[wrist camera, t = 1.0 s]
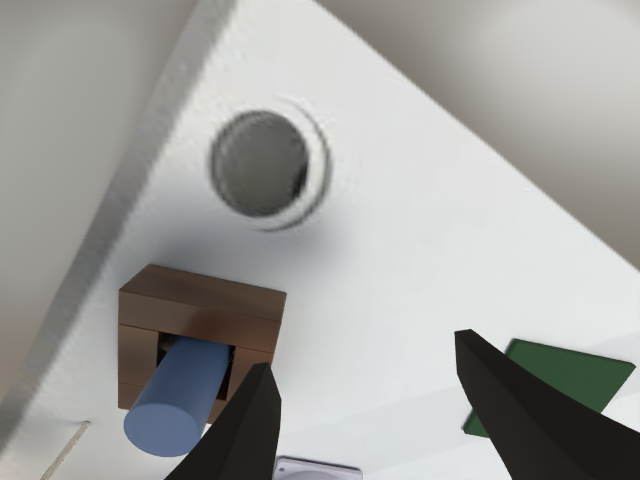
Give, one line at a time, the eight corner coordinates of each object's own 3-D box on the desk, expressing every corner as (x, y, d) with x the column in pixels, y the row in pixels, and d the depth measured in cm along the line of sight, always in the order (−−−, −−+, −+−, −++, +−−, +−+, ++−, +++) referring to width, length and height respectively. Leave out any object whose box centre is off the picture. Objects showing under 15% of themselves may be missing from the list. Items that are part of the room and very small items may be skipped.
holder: (264, 392, 26) (256, 432, 23) (143, 371, 25) (117, 408, 22) (287, 292, 23) (281, 322, 19) (148, 263, 22) (117, 289, 19)
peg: (234, 359, 25) (196, 463, 17) (182, 349, 25) (122, 451, 17) (241, 317, 23) (203, 411, 16) (187, 306, 23) (123, 397, 16)
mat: (567, 448, 28) (570, 452, 28) (463, 429, 28) (464, 433, 27) (632, 362, 25) (636, 366, 24) (514, 338, 24) (517, 341, 24)
